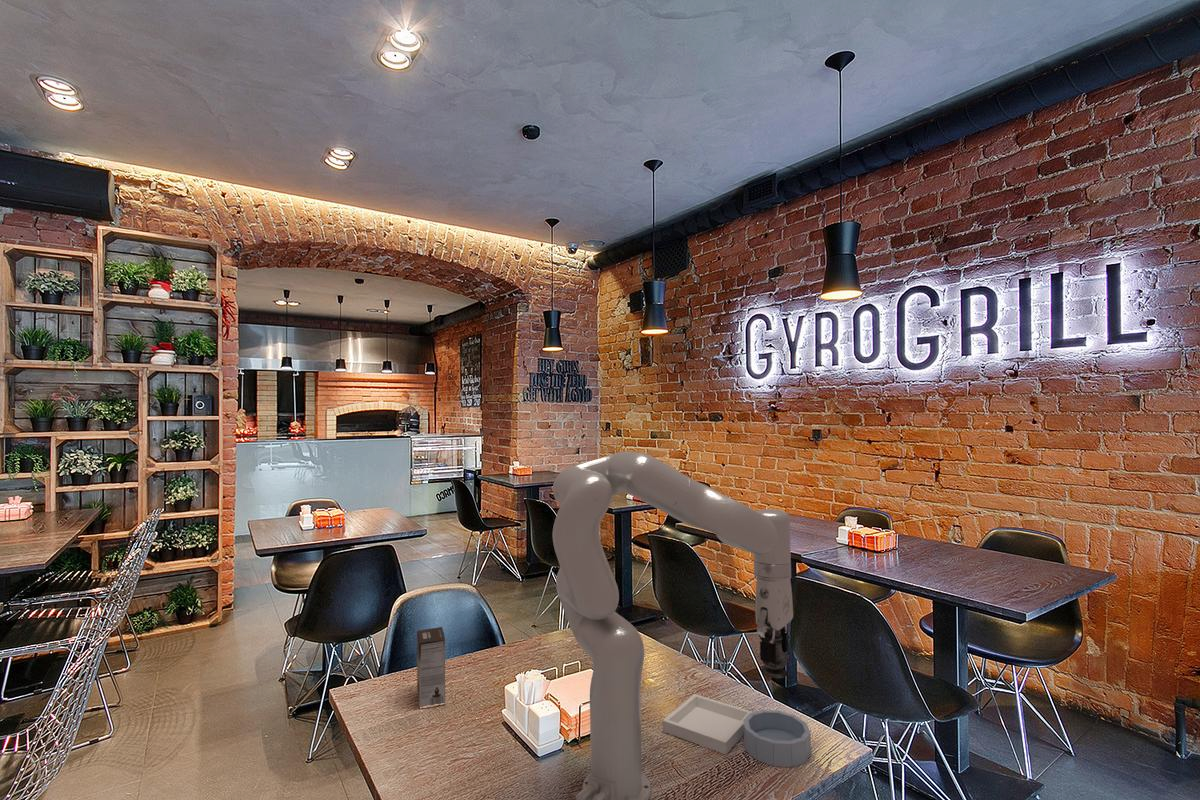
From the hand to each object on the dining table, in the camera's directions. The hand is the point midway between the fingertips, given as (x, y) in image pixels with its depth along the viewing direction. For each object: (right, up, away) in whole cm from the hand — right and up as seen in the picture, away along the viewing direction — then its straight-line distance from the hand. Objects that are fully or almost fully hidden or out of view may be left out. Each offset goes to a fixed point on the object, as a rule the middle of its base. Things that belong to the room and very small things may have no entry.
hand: (774, 655), depth 121 cm
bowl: (0, -19, -1) cm, 19 cm away
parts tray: (-12, -20, +8) cm, 24 cm away
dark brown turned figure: (0, -4, 0) cm, 4 cm away
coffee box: (-79, -21, +22) cm, 84 cm away
